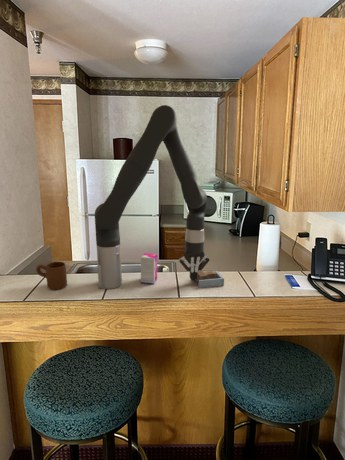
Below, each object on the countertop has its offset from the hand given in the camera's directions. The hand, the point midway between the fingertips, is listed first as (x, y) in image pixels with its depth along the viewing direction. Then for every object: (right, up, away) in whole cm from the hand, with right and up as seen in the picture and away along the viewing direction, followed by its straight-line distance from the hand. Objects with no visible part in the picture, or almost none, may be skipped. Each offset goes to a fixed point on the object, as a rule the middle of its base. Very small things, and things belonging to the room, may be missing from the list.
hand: (193, 279), depth 136 cm
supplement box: (-18, -1, +3) cm, 18 cm away
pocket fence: (+7, -1, +2) cm, 7 cm away
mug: (-57, -3, -2) cm, 57 cm away
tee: (+6, -1, +2) cm, 6 cm away
